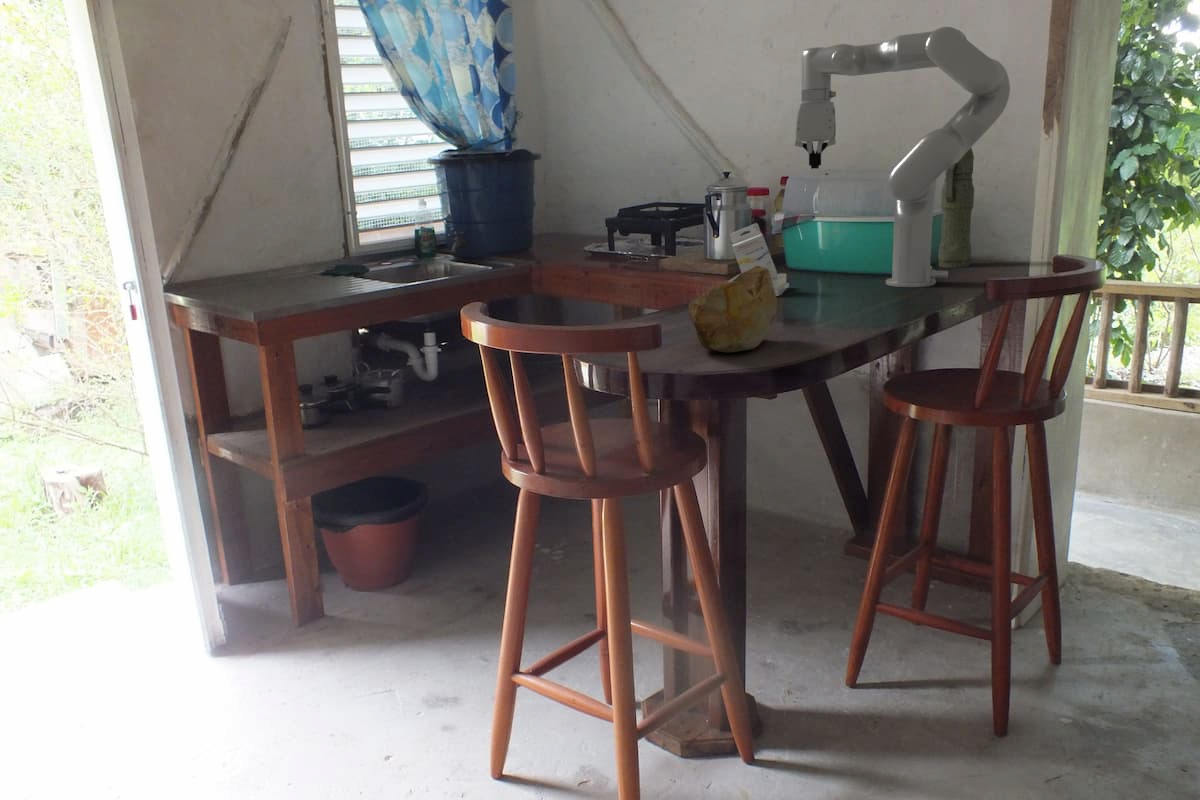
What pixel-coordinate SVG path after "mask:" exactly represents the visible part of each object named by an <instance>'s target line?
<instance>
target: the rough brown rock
mask: <svg viewBox="0 0 1200 800" xmlns="http://www.w3.org/2000/svg"><path fill="white" fill-rule="evenodd" d="M740 273H741V272H740ZM740 273H739V274H740ZM739 274H738V275H739ZM777 298H778V297H776V294H775V291H774V287H773V283H772V280H771V276H770V272H769V270H768V269H767V268H763V267H762V268H761V267H760V266H755V267H754V268H752V269H750V270H748V271H745V272H743V273H741V274H740V275H739V276H738V277H736V278H735V279H734V280H733V281H732V282H728V281H726V282H722V283H719V284H715V285H712V286H710V287H709V289H708V291H707V292H706V293H703V294H701V295H697V296H696V297H694V298H693V299H692V300H691V301H689V303H688V316H689V319H690V321H691V322H692V324H693V325H694V328H695V333H696V336H697V339H698V341H699V343H700V345H701V346H702V347H703V348H704V350H711V349H712V350H713V351H717V352H721V353H737V352H741V351H751V350H754V349H755V348H757V347H759V345H760V344H761V343H762V342H763V341H764V340H766V338H767V337H768V336H769V334H770V332H771V329H772V328H771V327H772V325H771V321H772V319H774V318H775V316H776V315H777V312H778V311H777V309H778V299H777Z"/></svg>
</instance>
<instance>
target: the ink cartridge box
mask: <svg viewBox="0 0 1200 800" xmlns="http://www.w3.org/2000/svg"><path fill="white" fill-rule="evenodd" d="M744 232H748V233H746V234H743V233H744ZM742 234H743V235H742ZM729 238H730V241H731V243H732V247H731V248H732V251H733V253H734V256H735V259H736V261H737V264H738V267H739V270H740V273H743V272H745V271H748V270H750V269H752V268H754V267H755V266H760V267H761V268H762V267H763V268H767V269H768V270H769V272H770V276H771V278H774V277H776V276H777V274H778V271H777V269H776V266H775V263H774V261H773V258H772V256H771V253H770V250H769V248H768V245H767V243H766V240H765V237H764V234H763V233H762V231H761V229H760V226H759V224H758V223H757V222H755V223H753V224H751V225H748V226H745V227H742V228H739V229H738V230H736V231H734V232H730V233H729Z"/></svg>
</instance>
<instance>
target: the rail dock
mask: <svg viewBox="0 0 1200 800" xmlns="http://www.w3.org/2000/svg"><path fill="white" fill-rule="evenodd" d="M740 274H741V272H740V273H739V274H737V275H735V276H734V277H732V278H731V279H729V280H727V282H732V281H733V280H734V279H735V278H736V277H738V276H739V275H740ZM771 280H772V283H773V287H774V291H775V294H776V296H779V295H780V296H781V295H782V294H784V293H785V292H786V291H787V290H788V289H789V288H790V283H789V282H787V273H777V276H776V277H774V278H771ZM788 287H789V288H788ZM787 288H788V289H787ZM786 289H787V290H786ZM785 290H786V291H785ZM784 291H785V292H784ZM783 292H784V293H783ZM780 296H779V297H780Z"/></svg>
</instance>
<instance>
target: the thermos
mask: <svg viewBox="0 0 1200 800" xmlns="http://www.w3.org/2000/svg"><path fill="white" fill-rule="evenodd" d="M974 158H975V155H974V151H973V147H971V148H970V149H969V150H968V151H967V152H966V153H965V154H964V156H963V157H962V158H961V159H960V160H959V161H958V162H957V163H956V164H954V165H952V166H950V167H948V168H947V169H946V170H945V171H944V176H945V178H944V183H943V186H942V188H941V200H940V201H941V202H940V204H941V205H940V208H941V211H942V217H941V235H940V236H941V238H940V243H939V246H938V258H937V259H938V267H940V268H952V269H953V268H954V269H955V268H965V267H969V266H970V261H971V258H972V257H971V256H972V244H971V239H970V238H971V224H972V222H971V221H972V210H973V209H974V200H975V187H974V184H973V173H974V160H975V159H974Z"/></svg>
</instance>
